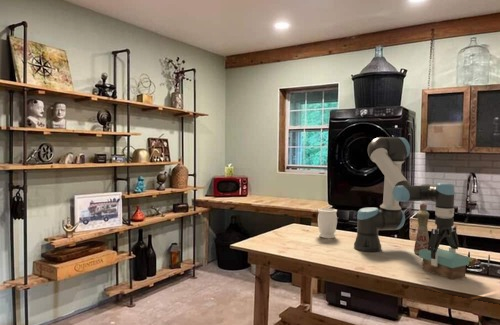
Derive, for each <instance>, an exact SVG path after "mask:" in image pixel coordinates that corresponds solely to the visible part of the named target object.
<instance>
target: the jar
mask: <svg viewBox="0 0 500 325" xmlns="http://www.w3.org/2000/svg"><path fill="white" fill-rule="evenodd" d="M317 212H318V214H317V225H318V230H319V234H318V235H319V237H320V238H323V239H333V238H336V236H335V233H336V231H337V225H338V216H337V213H338V209H335V208H328V207H324V208H321V207H320V208H318V209H317Z"/></svg>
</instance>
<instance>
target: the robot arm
mask: <svg viewBox="0 0 500 325" xmlns="http://www.w3.org/2000/svg"><path fill="white" fill-rule="evenodd" d="M367 154H368V157H369V159H370V160H371V161H372V162H373V163H375V164H376V166H377V168H378V169H379V170H380V171H381V173H382V174H383V175H384V179H383V180H384V181H383V182H384V183H383V197H382V198H383V200H382V203H381V204H380V205H379V208H378V207H370V206H369V207H362V208H359V210H358V211H357V215H356V219H357V220H356V221H357V224H356V227H357V228H356V237H355V240H354V242H353V248H354V249H355V250H357V251H360V252H367V253H376V252H380V251H382V244H381V241H380V238H379V231H396V230H400V229H402V228H403V226H404V224H405V222H406V216H405V212H404V211H403V210H402V207H401V206H400V202H403V203H404V202H435V207H434V210H435V211H434V212H435V213H434V215H435V217H434V221H435V222H434V224H435V225H436V228H431V231H430V232H431V234H430V237H429V244H428V248H427V249H428V250H429V251H431V265H433V266H436V267H437V266H438V252H436V251H437V249H438V248H440V245H441V243H442V240H443V239H444V238H445V239H446V241H447V243H448V245H449V247H448V251H450V252H454V253H457V252H456V250H458V249H459V247H460V243H459V238H458V237H459V236H458V233H457V227H456V226H454V216H455V214H454V213H455V210H454V209H455V194H456V192H455V185H454V184H453V183H451V182H437V183H436V184H435V185H432V184H421V185H411V184H410V182H409V181H408V180H407V178H406V177H405V176H404V175H403V173H402V164H404V162H405V160H406V159H407V158H408V157H409V156H410V155H411V145H410V143H409V141H408V140H407V139H406V138H405V137H399V136H391V137H390V136H389V137H388V136H387V137H386V136H385V137H384V136H379V137H376V138H373V139H372V140H371V142H369V143H368V146H367ZM434 248H435V249H434Z"/></svg>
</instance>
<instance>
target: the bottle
mask: <svg viewBox="0 0 500 325" xmlns="http://www.w3.org/2000/svg"><path fill="white" fill-rule="evenodd" d="M427 206H428V205H427V204H425V203H420V204H419V210H418V211H417V213H416V216H417V223H418V226H417V231H416V232H417V233H416V235H415V236H416V237H415V242H414V248H413V253H414V254H416V255H418V256H419V250H422V249H427V248H428V244H429V241H430V237H429V229H428V224H429V217H430V213H429V212H428V211H427Z"/></svg>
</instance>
